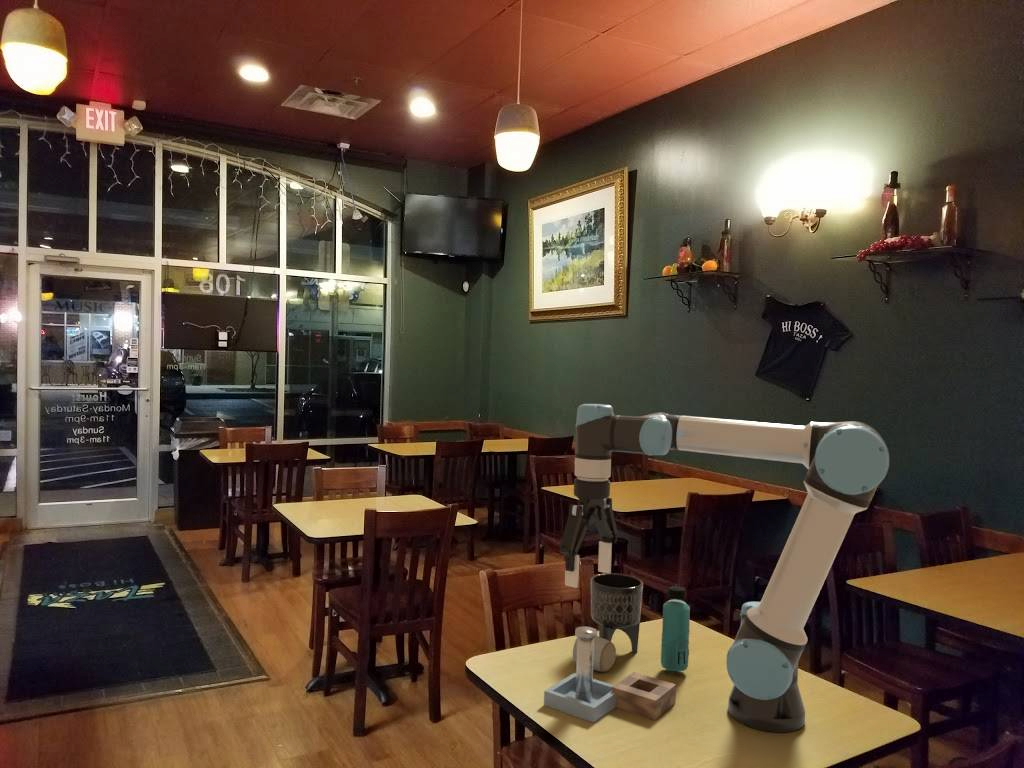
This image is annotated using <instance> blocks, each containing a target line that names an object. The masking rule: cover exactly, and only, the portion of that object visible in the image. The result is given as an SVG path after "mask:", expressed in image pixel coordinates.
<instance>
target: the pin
mask: <svg viewBox="0 0 1024 768" xmlns="http://www.w3.org/2000/svg"><path fill="white" fill-rule="evenodd" d="M574 630H575V633H574V635H575V636H576V638H577V637H578V642H577V664H576V668H575V669H576V671H575V673H576V690H575V698H576V699H579V700H581V701H584V702H587V703H591V702H592V684H593V679H594V678H593V677H594V669H593V660H594V638H596V637H597V636H598V630H597V629H596V628H594V627H592V626H591V627H590V626H578V627H575V629H574Z"/></svg>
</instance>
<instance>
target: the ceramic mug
mask: <svg viewBox="0 0 1024 768" xmlns="http://www.w3.org/2000/svg"><path fill="white" fill-rule="evenodd" d="M577 642H578V637H577V636H576V639H575V641H574V644H573V648H572V660H573V662H574V663H575V664H576V665H577ZM616 651H617V650H616V645H615V644H614V643H613V642H612V641H611V642H610V641H608V640H606V639H603V638H601V637H599V635H597V637H596V638H594V660H593V671H596V672H601V673H606V672H608V671H610V670H611V668H612V667H613V666H614V663H615V661H616V658H617V656H616V655H617V652H616Z"/></svg>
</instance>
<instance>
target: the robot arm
mask: <svg viewBox="0 0 1024 768" xmlns="http://www.w3.org/2000/svg"><path fill="white" fill-rule="evenodd" d="M576 410H577V411H576V419H575V420H576V422H575V426H574V427H575V446H574V447H575V452H574V456H575V458H574V476H575V478H574V479H573V495H574V497H576V498H577V499H578V503H577V505H576V504H572V503H571V504H569V508H568V515H567V521H566V524H565V526H564V531H563V533H562V538H561V541H560V544H559V545H560V546H559V550H558V551H559V553H561V554H564V555H565V567H564V568H565V569H564V570H565V571H564V573H565V575H564V586H567V587H571V588H575V589H577V588H579V578H580V575H579V573H580V555H579V554H578V552H579V549H580V548H581V545H582V542H583V540H584V537H585V536H586V533H587V530H588V528H590V527H592V525H593V524H594V526H595V529H596V530H597V532H598V535H599V536H600V537H599V538H600V539H601V540H600V541H599V542H598V563H597V564H598V565H597V567H598V568H597V571H598V572H600V573H602V574H610V573H612V548H613V546H612V545H613V543H614V544H616V543H617V542H618V537H619V533H618V528H617V523H616V519H615V516H614V515H615V514H614V509H613V498H612V497H610V496H611V481H610V479H609V478H610V477H611V475H612V474H611V473H612V472H611V471H612V470H611V467H612V452H616V453H618V452H619V453H620V452H621V453H628V454H629V453H630V454H640V455H647V456H651V457H652V456H665V455H667V454H668V453H669V452H670V450H673V451H685V452H692V453H693V452H695V453H702V454H703V453H704V454H712V455H722V456H729V457H739V458H749V459H756V460H757V459H758V460H767V461H777V462H786V463H794V464H795V463H796V464H803V467H805V469H807V473H806V475H805V477H804V480H803V484H804V486H805V488H806V491H807V495H806V497H805V499H804V502H803V504H802V506H801V508H800V511H799V513H798V516H796V517H797V518H796V519H795V523H794V524H793V527H792V528H791V532H790V534H789V535H788V538H787V540H786V543H785V545H784V547H783V549H782V552H781V554H780V557H779V559H778V561H777V563H776V566H775V568H774V570H773V572H772V575H771V576H770V579H769V582H768V584H767V586H766V589H765V590H764V594H763V596H762V598H761V600H760V601H747V602H744V603H743V604H742V606H741V611H740V613H739V615H740V619H741V620H740V626H739V629H738V630H737V634H736V636H735V638H734V640H733V643H732V645H731V646H730V647H729V649H728V651H727V653H726V670H727V674H728V676H729V678H730V681H731V682H732V684H733V686H732V689H731V691H730V694H729V696H728V705H727V710H728V713H729V715H730V716H731V717H732V718H734V720H736V721H737V722H739V723H741V724H743V725H745V726H747V727H749V728H753V729H756V730H759V731H764V732H768V733H769V732H770V733H790V732H796V731H798V730H800V729H802V728H803V727H804V726H805V724H804V723H806V708H805V706H804V702H803V701H804V700H803V698H802V694H801V691H800V688H799V683H798V682H799V678H798V677H799V663H800V662H799V661H800V659H801V656H802V654H803V652H804V650H805V647H806V645H807V643H808V636H807V634H806V632H805V629H804V628H805V626H806V623H807V622H808V619H809V616H811V615H810V614H811V613H812V611H813V607H814V605H815V603H816V601H817V598H818V597H819V595H820V591H821V590H822V588H823V586H824V583H825V580H826V579H827V577H828V575H829V572H830V570H831V568H832V566H833V564H834V561H835V559H836V557H837V554H838V552H839V550H840V548H841V546H842V544H843V541H844V540H845V537H846V535H847V533H848V530H849V528H850V526H851V524H852V521H853V519H854V516H855V515H856V514H857V513H860V512H863V511H866V510H867V509H868V508H869V507H870V504H871V502H872V499H873V497H874V495H875V494H876V493H875V492H876V491H877V488H878V486H879V485H881V483H882V481H883V480H884V479H885V477H886V476H887V474H888V470H889V468H890V453H889V449H888V446H887V444H886V442H885V440H884V438H883V436H882V435H881V433H879V432H878V430H876V429H875V428H874V427H873V426H871V425H870V424H867V423H865V422H860V421H856V420H855V421H853V420H851V421H838V422H837V421H836V422H834V421H833V422H829V421H828V422H820V421H810V422H809V423H808V424H806V425H799V424H798V425H796V424H795V425H794V424H787V423H772V422H762V421H760V422H759V421H752V420H751V421H750V420H741V419H740V420H739V419H726V418H715V417H704V416H691V415H677V414H669V413H666V412H658V411H657V412H656V411H655V412H652V413H649V414H647V415H646V414H645V415H642V416H641V415H640V416H638V415H637V416H636V415H635V416H634V415H620V414H619V415H618V414H614V413H615V412H614V408H613V406H612V405H610V404H603V403H583V404H580V405H579V406H578V407H577V409H576ZM803 725H804V726H803ZM802 726H803V727H802ZM801 727H802V728H801Z"/></svg>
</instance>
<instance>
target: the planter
mask: <svg viewBox="0 0 1024 768" xmlns="http://www.w3.org/2000/svg"><path fill="white" fill-rule="evenodd" d="M643 589H644V582H643V581H642V579H639V578H638V577H635V576H633V575H629V574H624V573H612V572H611V573H610V574H608V573H601V574H596V575H594V576H592V577H591V578H590V616H591V618H592V620H593V621H594V623H596V624H598V625H599V626H598V630H599V631H598V632H599V633H598V637H601V638H603V639H606V640H608V641H610V642H612V639H613V637H614V633H615V632H616V630H620V631H622V632H623V633H625V635H626V636H627V637H628V638H629V640H630V644H631V652H632V653H634V654H637V653H638V647H639V638H640V637H639V636H640V626H641V622H640V621H641V615H642V614H641V613H642V612H641V611H642V601H643V600H642V599H643V593H644V592H643V591H644V590H643Z"/></svg>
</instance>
